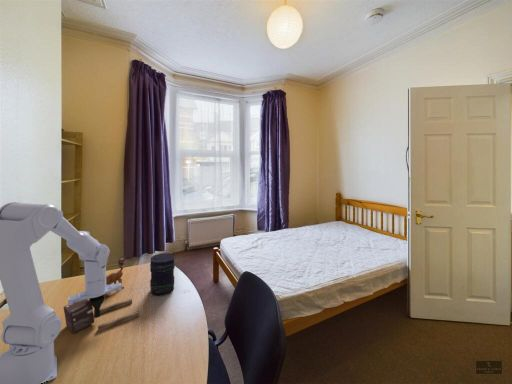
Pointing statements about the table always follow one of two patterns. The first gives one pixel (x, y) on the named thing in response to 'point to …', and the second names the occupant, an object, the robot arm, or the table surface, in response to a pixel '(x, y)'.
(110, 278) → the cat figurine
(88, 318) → the box
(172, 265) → the storage jar
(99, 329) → the shelf lane
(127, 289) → the table surface
